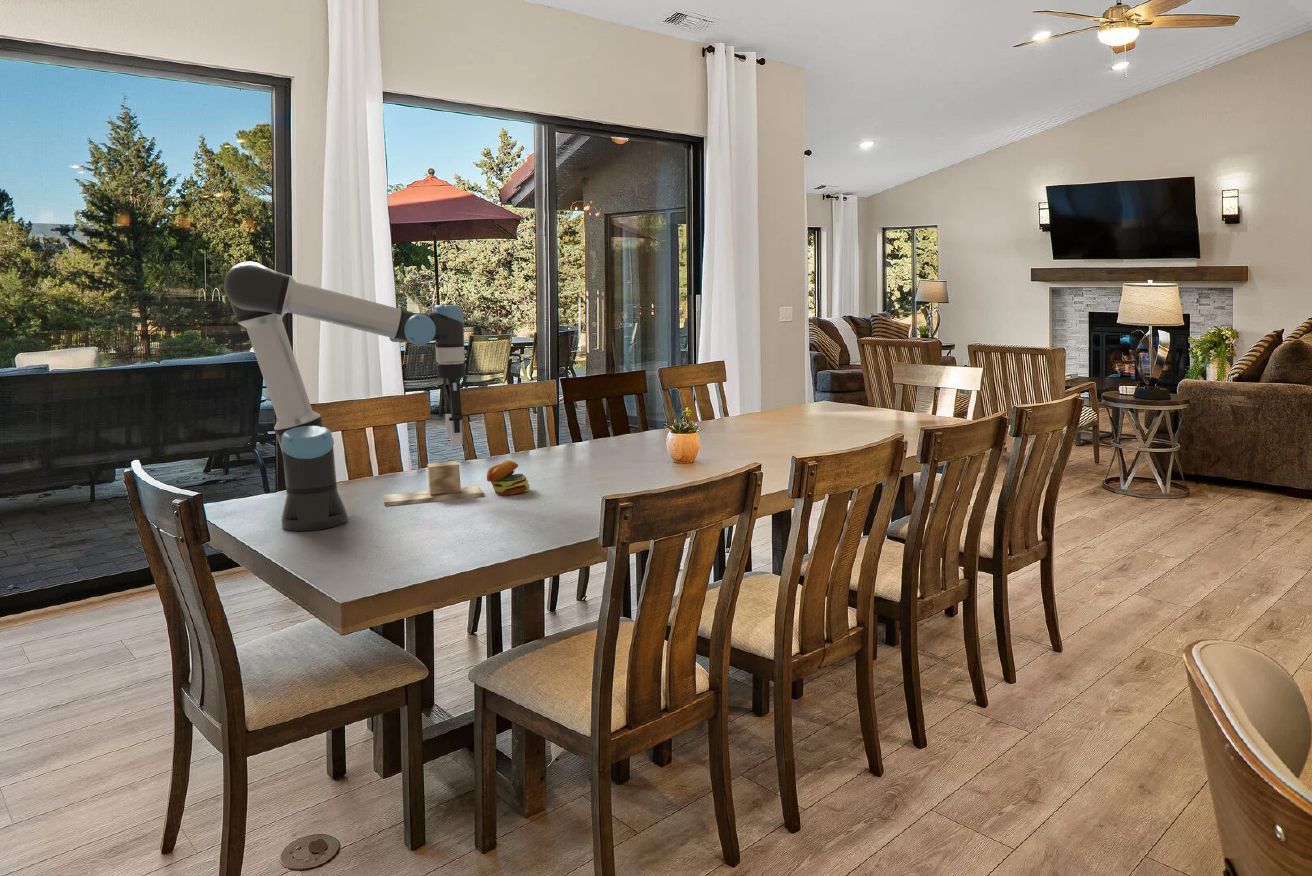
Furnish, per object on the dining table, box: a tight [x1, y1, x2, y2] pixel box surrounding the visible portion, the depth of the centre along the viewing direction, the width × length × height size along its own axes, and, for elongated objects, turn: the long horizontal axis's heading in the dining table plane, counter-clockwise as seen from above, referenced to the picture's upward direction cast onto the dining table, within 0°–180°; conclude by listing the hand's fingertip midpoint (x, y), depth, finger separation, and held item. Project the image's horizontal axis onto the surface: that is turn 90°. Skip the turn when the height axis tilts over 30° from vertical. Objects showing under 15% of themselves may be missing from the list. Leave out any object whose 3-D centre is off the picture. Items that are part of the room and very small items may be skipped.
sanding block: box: [427, 460, 462, 496], centre depth 251 cm, size 8×5×8 cm, turn 108°
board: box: [382, 485, 485, 507], centre depth 251 cm, size 26×9×1 cm, turn 108°
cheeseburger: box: [486, 460, 530, 496], centre depth 254 cm, size 10×11×10 cm
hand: (454, 440), depth 251 cm, fingers open, 13 cm apart
